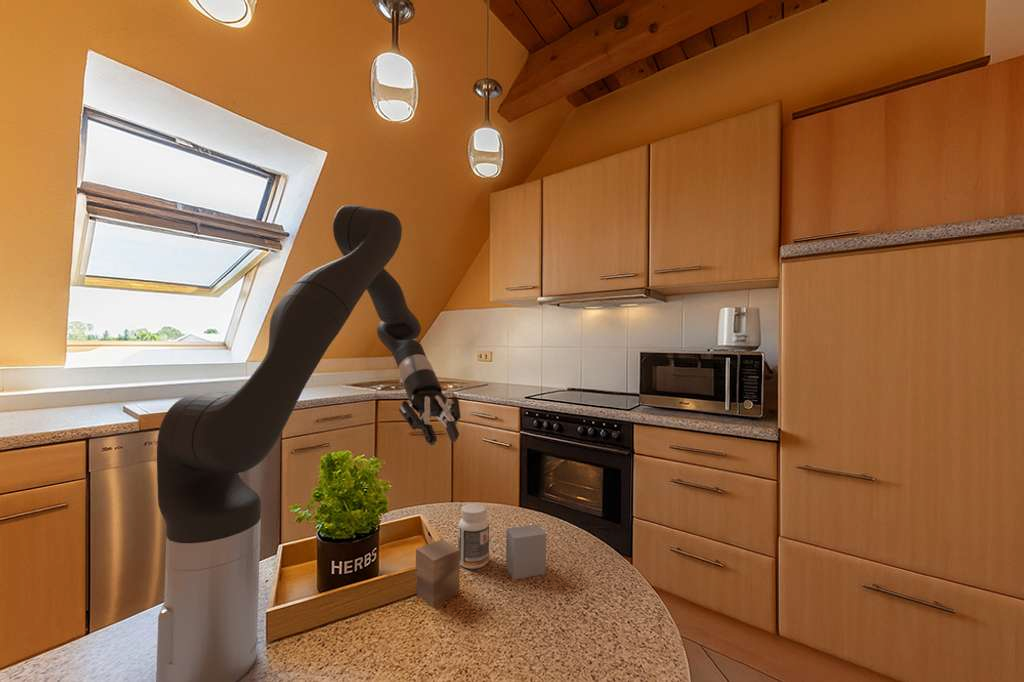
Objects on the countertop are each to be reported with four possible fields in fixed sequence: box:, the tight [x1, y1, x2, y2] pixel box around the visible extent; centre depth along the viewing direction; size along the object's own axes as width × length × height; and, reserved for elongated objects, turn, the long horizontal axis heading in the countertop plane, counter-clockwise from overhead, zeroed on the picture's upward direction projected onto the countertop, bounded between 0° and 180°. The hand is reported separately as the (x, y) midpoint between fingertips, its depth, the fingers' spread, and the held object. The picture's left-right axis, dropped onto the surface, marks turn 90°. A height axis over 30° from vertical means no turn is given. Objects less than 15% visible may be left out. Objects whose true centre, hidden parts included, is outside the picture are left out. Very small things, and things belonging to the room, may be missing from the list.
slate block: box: [505, 523, 547, 581], centre depth 72 cm, size 6×4×7 cm, turn 110°
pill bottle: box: [457, 502, 490, 570], centre depth 74 cm, size 6×6×10 cm
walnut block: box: [415, 538, 461, 608], centre depth 65 cm, size 5×5×7 cm
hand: (444, 441), depth 83 cm, fingers open, 4 cm apart
